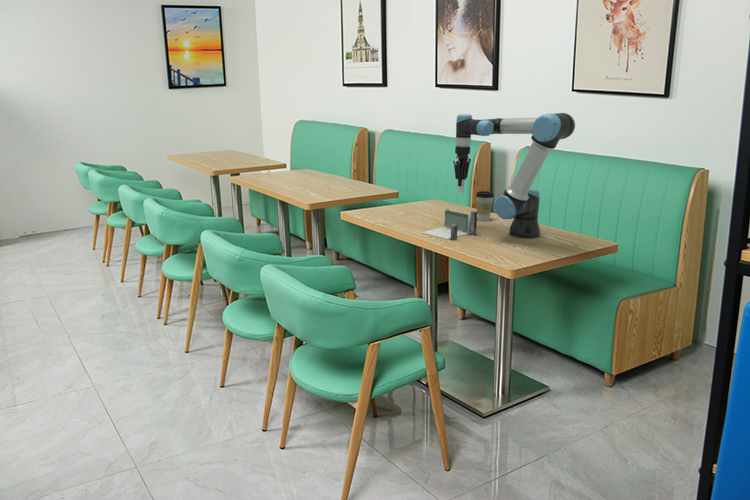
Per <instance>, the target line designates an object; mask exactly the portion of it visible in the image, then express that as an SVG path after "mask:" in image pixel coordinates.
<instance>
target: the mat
mask: <svg viewBox="0 0 750 500" xmlns="http://www.w3.org/2000/svg"><path fill="white" fill-rule="evenodd" d="M420 233H421V234H422V233H423V234H424V235H426V234H427V235H428V236H431V237H435V238H439V239H443V240H451V228H449V227H445V226H441V227H437V228H433V229H430V230H424V231H421V232H420ZM469 234H470V232H467V231H462V230H458V229H457V238H458V237H462V236H465V235H469Z"/></svg>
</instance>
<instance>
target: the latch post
mask: <svg viewBox="0 0 750 500" xmlns="http://www.w3.org/2000/svg"><path fill="white" fill-rule="evenodd" d="M457 227H458V226H457V224H452V225H451V228H450V229H451V239H450V240H452V241H457V240H458V237H457V230H458V229H457Z"/></svg>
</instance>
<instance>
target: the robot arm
mask: <svg viewBox="0 0 750 500" xmlns="http://www.w3.org/2000/svg"><path fill="white" fill-rule="evenodd" d="M455 125H456V127H455V129H456V130H455V146H454V147H455V148H454V153H455V154H456V159H455V160H453V161H452V163H453V165H454V166H453V167H454V176H455V180H457V193H460V194H461V193H465V192H464V191H465V180H467V178H468V175H469V169H470V164H471V161H472V159H471V158H469V155H470V154H471V145H472V144H471V143H472V135H473V136H479V137H480V136H481V137H489V136H491V135H506V134H507V135H531V137H530V139H531V141H532V142H531V145H530V147H529V149H528V151H527V152H526V155H525V157H524V158H523V160H522V163H521V164H520V166H519V168H518V171H517V173H516V175H515V177H514V179H513V180H512V183H511V184H510V185H508V186H506V188H505V189H504V191H503V193H502V195H499V196H497V197H496V199H495V201H494V203H493V206H494V207H493V208H494V210H495V214H496V215H497V216H498V217H499V218H500V219H502V220H512V219H513V220H512V222H511V225H510V227H509V229H508V230H509V231H508V234H509V235H510V236H512V237H515V238H521V239H536V238H539V237H540V236H541V229H540V225H539V211H540V210H539V208H540V198H541V196H540V194H541V193H540V191H539V190H537V189H533V188H532V186H533V184H534V182H535V180H536V178H537V176H538V174H539V172H540V171H541V168H542V166H543V165H544V162H545V161H546V159H547V157H548V155H549V153H550V151H552V150H555V148H557V145H558V144H559V142H560V141H561V140H564V139H567V138H569V137H570V136H572V135H573V133H574V131H575V129H576V122H575V120H574V118H573V117H572V116H571V115H570V114H568V113H566V112H557V113H555V112H554V113H552V112H551V113H550V112H549V113H545V114H541V115H540V116H537V117H512V118H502V117H499V118H497V117H496V118H488V119H487V118H486V119H484V118H483V119H474V118H473V115H472V114H466V113H465V114H464V113H461V114H458V115H457V116H456V121H455ZM531 188H532V189H531Z"/></svg>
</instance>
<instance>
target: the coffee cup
mask: <svg viewBox="0 0 750 500" xmlns="http://www.w3.org/2000/svg"><path fill="white" fill-rule="evenodd" d="M475 197H476V212H478V213H477V221H481V222H482V221H483V222H487V221H490V217H491V213H492V208H493V204H494V203H493V200H494V197H495V195H494V193H493V192H492V191H487V190H486V191H485V190H480V191H477V192H476V194H475Z"/></svg>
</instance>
